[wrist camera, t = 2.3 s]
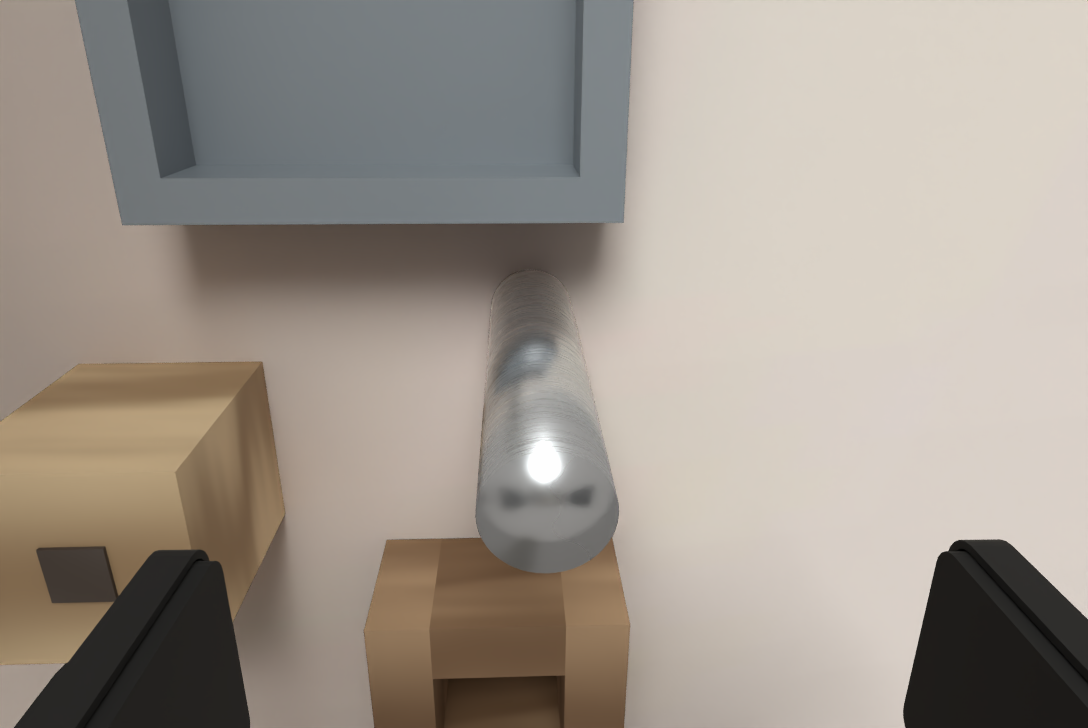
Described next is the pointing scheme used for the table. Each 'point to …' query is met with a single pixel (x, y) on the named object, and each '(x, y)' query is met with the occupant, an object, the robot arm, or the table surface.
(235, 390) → the oak block
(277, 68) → the tray
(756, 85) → the table surface
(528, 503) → the cylinder
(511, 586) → the tan wooden square frame
